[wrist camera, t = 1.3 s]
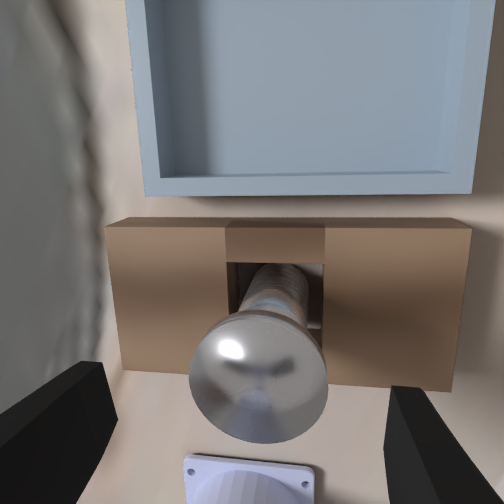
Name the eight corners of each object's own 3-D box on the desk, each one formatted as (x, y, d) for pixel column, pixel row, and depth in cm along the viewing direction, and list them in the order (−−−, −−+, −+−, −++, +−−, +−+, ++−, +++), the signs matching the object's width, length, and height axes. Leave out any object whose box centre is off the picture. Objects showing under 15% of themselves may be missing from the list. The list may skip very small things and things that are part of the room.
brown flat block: (434, 362, 19) (450, 392, 17) (143, 345, 22) (122, 369, 20) (450, 217, 17) (472, 228, 15) (128, 217, 20) (103, 226, 18)
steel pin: (321, 328, 20) (326, 449, 12) (240, 325, 21) (193, 437, 13) (323, 249, 19) (330, 324, 11) (236, 247, 20) (183, 317, 12)
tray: (449, 187, 17) (471, 193, 15) (165, 190, 19) (145, 196, 17) (480, -94, 14) (513, -142, 12) (144, -53, 16) (115, -87, 14)
